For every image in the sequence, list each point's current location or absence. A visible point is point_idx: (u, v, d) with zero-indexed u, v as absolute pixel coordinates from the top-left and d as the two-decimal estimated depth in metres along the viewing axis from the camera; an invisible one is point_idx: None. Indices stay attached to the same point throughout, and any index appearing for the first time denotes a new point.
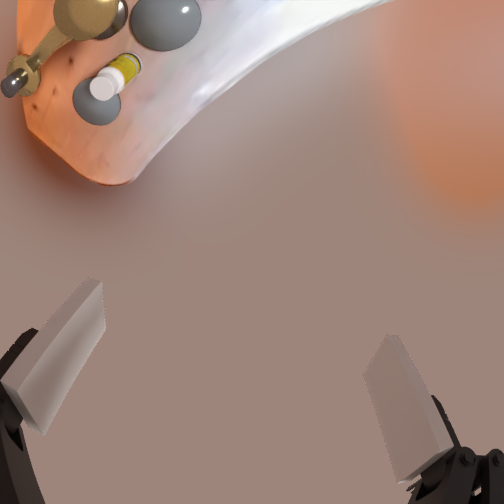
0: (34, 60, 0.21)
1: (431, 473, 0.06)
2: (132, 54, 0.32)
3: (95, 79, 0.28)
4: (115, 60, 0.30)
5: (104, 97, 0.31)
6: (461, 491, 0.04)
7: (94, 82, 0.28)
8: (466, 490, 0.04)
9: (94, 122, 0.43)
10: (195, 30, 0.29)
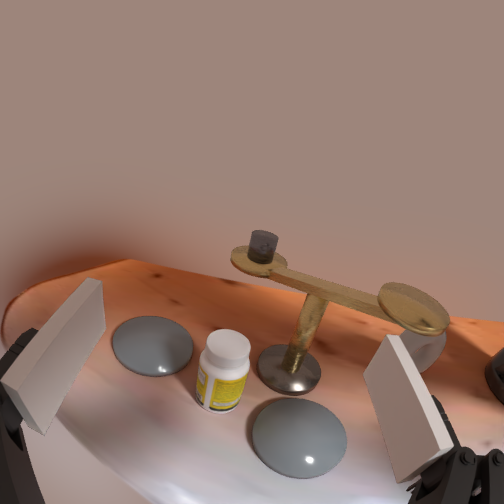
0: (290, 273, 0.32)
1: (431, 473, 0.06)
2: None
3: (245, 338, 0.26)
4: None
5: (213, 344, 0.24)
6: (461, 491, 0.04)
7: (239, 336, 0.26)
8: (466, 490, 0.04)
9: (119, 332, 0.32)
10: (301, 474, 0.20)
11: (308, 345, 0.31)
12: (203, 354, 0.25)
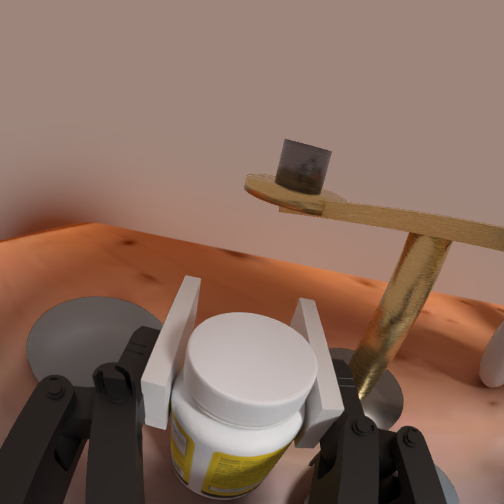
0: (363, 204, 0.16)
1: (325, 447, 0.08)
2: None
3: (298, 336, 0.09)
4: None
5: (209, 357, 0.08)
6: (364, 467, 0.06)
7: (283, 331, 0.09)
8: (371, 465, 0.06)
9: (44, 320, 0.16)
10: None
11: (399, 346, 0.14)
12: (181, 381, 0.09)
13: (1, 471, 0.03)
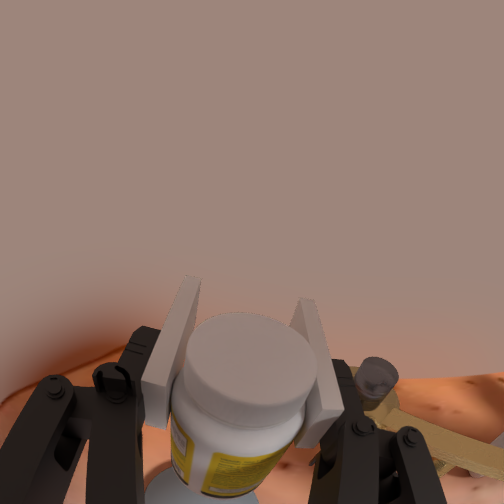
0: (413, 425, 0.16)
1: (325, 447, 0.08)
2: None
3: (298, 337, 0.09)
4: None
5: (209, 357, 0.08)
6: (364, 467, 0.06)
7: (283, 331, 0.09)
8: (371, 465, 0.06)
9: (150, 496, 0.16)
10: None
11: None
12: (181, 381, 0.09)
13: (1, 471, 0.03)
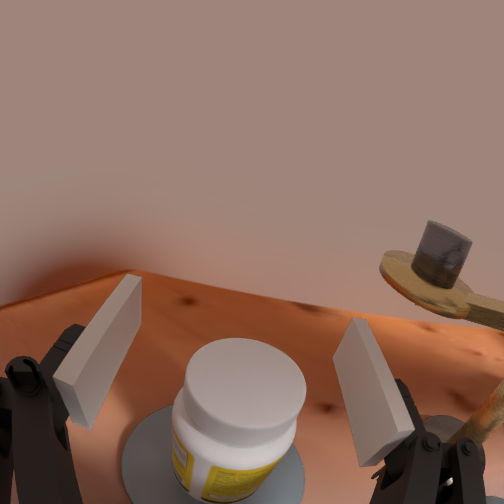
0: (499, 305, 0.12)
1: (393, 461, 0.07)
2: None
3: (289, 361, 0.10)
4: None
5: (206, 384, 0.08)
6: (427, 479, 0.05)
7: (275, 356, 0.10)
8: (433, 478, 0.05)
9: (134, 449, 0.12)
10: None
11: None
12: (180, 401, 0.09)
13: None
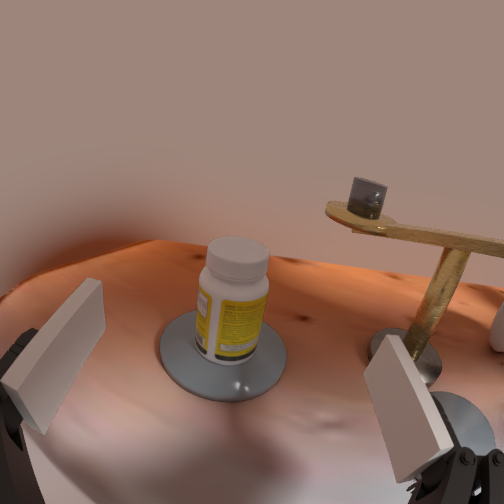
0: (413, 227, 0.22)
1: (431, 473, 0.06)
2: (256, 346, 0.21)
3: (260, 244, 0.19)
4: None
5: (218, 249, 0.18)
6: (461, 491, 0.04)
7: (253, 242, 0.20)
8: (466, 490, 0.04)
9: (168, 336, 0.22)
10: None
11: None
12: (204, 271, 0.19)
13: None
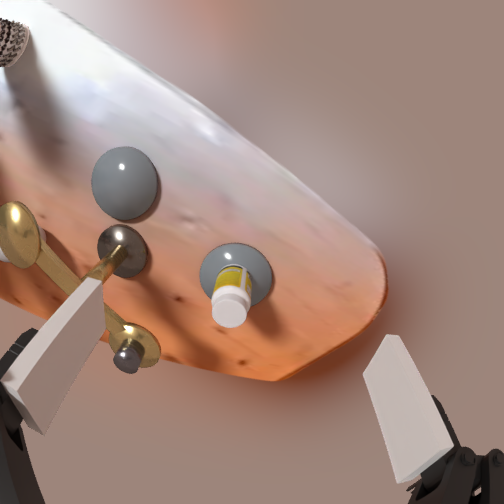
0: (105, 321, 0.30)
1: (431, 473, 0.06)
2: (218, 273, 0.39)
3: (215, 318, 0.32)
4: None
5: (241, 312, 0.32)
6: (461, 491, 0.04)
7: (219, 320, 0.33)
8: (466, 490, 0.04)
9: (266, 285, 0.40)
10: (129, 149, 0.33)
11: (102, 259, 0.34)
12: (247, 307, 0.34)
13: None
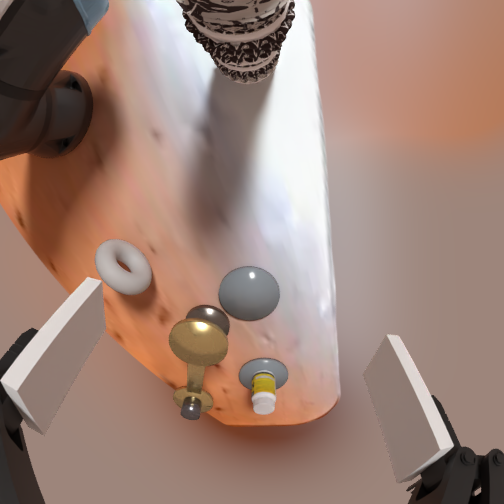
0: (193, 387, 0.42)
1: (431, 473, 0.06)
2: (259, 372, 0.54)
3: (254, 407, 0.47)
4: (253, 386, 0.51)
5: (270, 410, 0.48)
6: (461, 491, 0.04)
7: (255, 409, 0.48)
8: (466, 490, 0.04)
9: None
10: (274, 282, 0.46)
11: None
12: None
13: None
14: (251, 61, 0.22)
